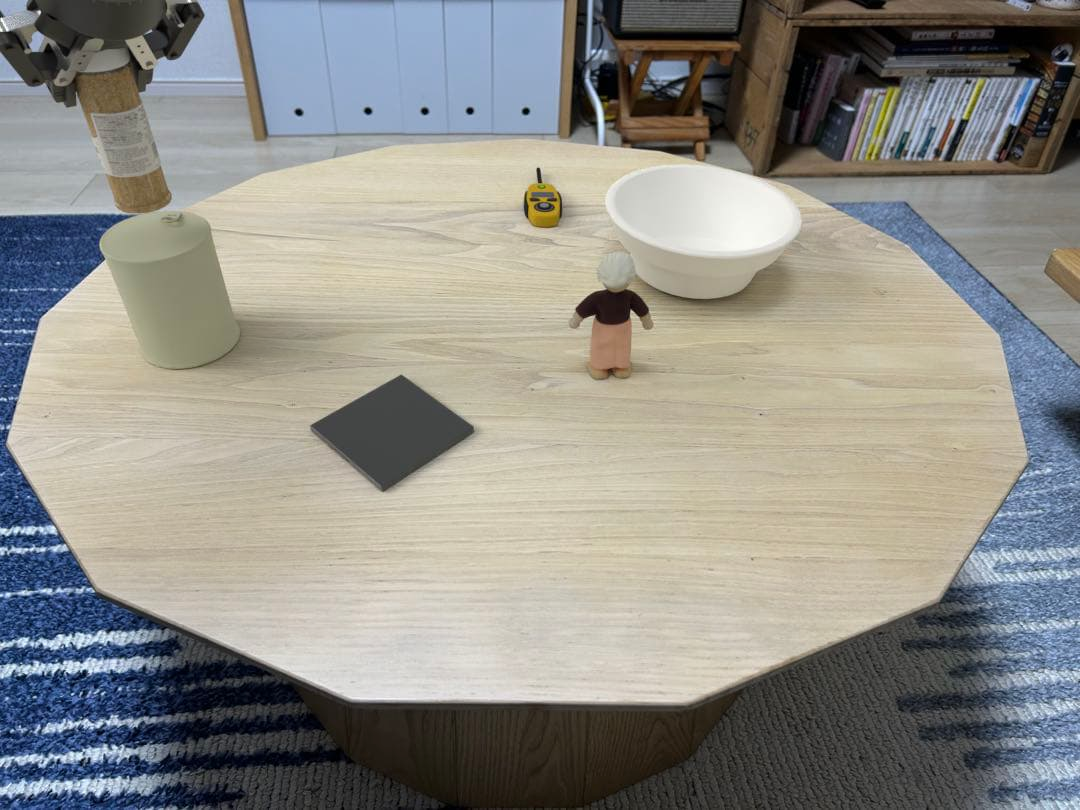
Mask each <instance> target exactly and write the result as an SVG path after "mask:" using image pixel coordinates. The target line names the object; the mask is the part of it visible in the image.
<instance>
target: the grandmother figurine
mask: <svg viewBox="0 0 1080 810" xmlns="http://www.w3.org/2000/svg"><path fill="white" fill-rule="evenodd" d="M596 274H597V281H598V282H600V283H602V285H603V287H604V288H605V289H600V290H596V291H594V292H592V293H590V294H589V295H587V296H586V297H585V298H584V299H582V300H581V301H580V303H578V305H577V306H576V307H575V309H574V310H575V311H574V313H573V314H572V317H570V319H568V326H569V328H571V329H574V330H577V329H579V327H580V326H581V323H582V322H583V321H584V320H585V319H588V318H590V317H593V316H594V318H593V320H592V321H593V322H592V326H591V327H592V328H591V337H590V344H589V345H590V346H589V361H588V362H587V364H586V367H585V368H586V370H587V372H588V373H589V375H590V376H591V378H593V379H594V380H598V381H599V380H606V379H607V378H608V376H609V373H608V369H612V374H613V376H614V377H616V378H618V379H627V378H629V377H630V375H631V373H632V370H633V367H634V365H633V362H632V361H631V354H632V339H633V337H632V336H633V329H632V325H633V324H632V318H631V311H632V312H633V313H634V314H635V315H636V316H637V317H638V319H639V321H640V322H641V326H642V328H643V329H644V330H647V331H650V330H652V329H653V328H654V326H655V325H654V321H653V319H652V316H651V313H650V308H649V306H648V305H647V304H646V302H645V301H644V299H643V298H642V297H641V296H640V295H639V294H638V293H637V292H635V291H634V290H631V289H628V287H629V286H630V284H631V283H633V282H635V278H636V277H635V276H636V272H635V265H634V262H633V259H632V257H631V256H630V253H627V252H625V251H617V250H615V251H613V252H612V251H611V252H609V253H607V254H605V255H604V256H603V258H602V259H601V260H600V262H599V264H598V266H597V267H596Z"/></svg>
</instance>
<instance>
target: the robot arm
mask: <svg viewBox="0 0 1080 810" xmlns="http://www.w3.org/2000/svg"><path fill="white" fill-rule="evenodd" d="M205 14H206V13H205V12H204V10H203V9H202V7H201V4H200V3H199V0H27V1H26V5H25V10H23V11H20V12H16V13H13V14H10V15H7V16H5V15H4V12H2V11H1V10H0V54H1V55H2V56H3V57H4V59H5V60H6V61H7V62H8V64H9V65H10V66H11V67H12V68H13V69H14V71H15V72H16V73H17V74H18V76H19V77H20V78H21V79H22V81H23V82H24V83H25V85H26V86H28V87H31V88H36V87H40V86H42V85H44V84H45V86H46V88H47V89H48V91H49V93H50V95H51V98H52V99H53V100H54V102H56V103H57V104H59V103H63V105H64V106H65V108H66V109H68V108H73V107H77V104H78V103H77V92H76V84H75V81H74V80H73V79H74V77H75V75H76V73H77V71H85V69H86V68H87V66H88V64H89V62H90V60H91V59H92V57H93V55H94V53H97V52H100V51H103V50H107V49H121V48H128V51H129V55H130V63H131V70H132V73H133V77H134V79H135V83H136V86H137V89H138V92H139V94H140V93H144V92H146V91H147V85H150V84H151V83H152V81H153V78H154V69H155V68H156V67H157V66H158V65H159V61H158V60H160V59H162V58H164V57H165V58H166V60H168V61H175V60H178V59H180V58H181V57H182V55H183V54H184V52H185V51H186V49H187V48H188V46H189V43H190V42H191V41H192V38H193V37H194V35H195V33H196V32H197V30H198V28H199V27H200V25H201V23H202V21H203V20H204V18H205V16H206V15H205ZM37 32H38V33H40V34H41V35H42V36H43V39H42V41H41V43H40V46H39V47H38V50H37V51H33V50H32V47H31V46H30V44H31V43H32V42H33V37H32V36H33V35H34V34H35V33H37Z"/></svg>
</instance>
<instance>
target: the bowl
mask: <svg viewBox="0 0 1080 810" xmlns="http://www.w3.org/2000/svg"><path fill="white" fill-rule="evenodd" d="M604 203H605V211H606V214H607V216H608V218H609V221H610V223H611V226H612V228H613V231H614V234H615V236H616V238H617V240H618V242H619V243H620V244H621V245H622V247H624V248H625V249H626V250H627V251H628V253H629V255H630V256H631V257H632V259H633V262H634V265H635V274H636V275H637V276H638V277H639V278H640V279H641V280H642V281H643V282H645V283H646V284H647V285H649V286H651V287H653V288H654V289H657V290H659V291H661V292H664V293H667V294H669V295H673V296H677V297H681V298H688V299H695V300H696V299H697V300H698V299H699V300H711V299H720V298H724V297H729V296H732V295H734V294H737V293H739V292H741V291H742V290H743V289H745V288H746V287H747V286H748V285H749V284H750V283H751V281H752V280H753V278H754V277H755V275H756V274H757V273H758V271H761V270H763V269H765V268H767V267H768V266H771V265H772V264H773V263H775V262H776V260H777V259H778V258H779V257H780V256H781V255H782V254H783V253H784V252H785V251H786V249H787V248H788V247H789V246H790V245H791V244H792V243H793V241H794V240H795V239H796V238H797V237H798V236H799V235H800V233H801V230H802V227H803V217H802V213H801V211H800V209H799V207H798V205H797V204H796V202H795V201H794V200H792V198H791V197H790V196H789V195H787V194H786V193H785V192H783V191H782V190H781V189H779V188H778V187H776V186H774V185H772V184H770V183H768V182H767V181H765V180H763V179H760V178H758V177H755V176H753V175H750V174H747V173H743V172H740V171H737V170H734V169H729V168H723V167H718V166H712V165H703V164H689V163H687V164H686V163H684V164H683V163H677V164H662V165H657V166H656V165H655V166H649V167H645V168H642V169H638V170H634V171H632V172H630V173H627V174H626V175H623V176H621V177H620V178H619V179H617V180H616V181H615V182H613V183H612V185H611V186H610V187H609V189H608V190H607V192H606V196H605V199H604Z"/></svg>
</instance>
